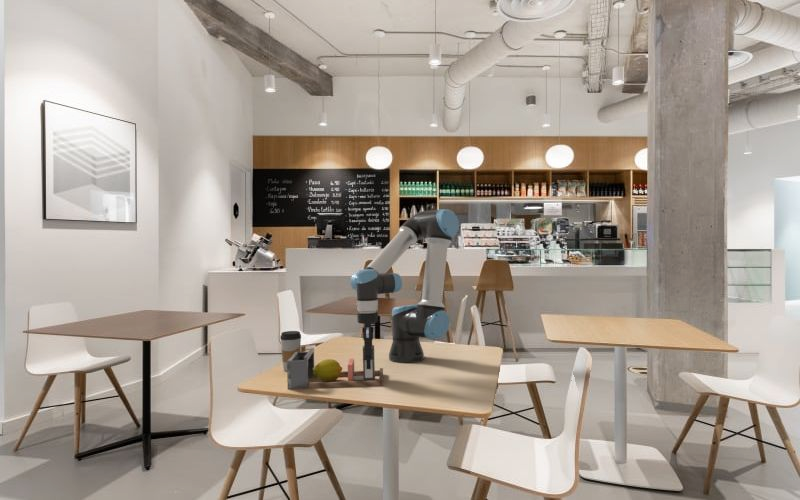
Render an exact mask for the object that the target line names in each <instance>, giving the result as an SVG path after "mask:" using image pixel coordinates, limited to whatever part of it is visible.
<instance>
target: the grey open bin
mask: <svg viewBox="0 0 800 500" xmlns="http://www.w3.org/2000/svg"><path fill="white" fill-rule="evenodd" d="M314 367H315V348H313V347H311V348H310V349H309V350H308V351H300V352H295V353H294V354H293V355H292V357H291V358H290V359H289V360H288V361H287V371H286V373H287V376H286V377H287V380H286V381H287V389H288V388H301V389H309V388H308V383H309V378H315V377H314V374H313V368H314Z"/></svg>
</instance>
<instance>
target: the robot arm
mask: <svg viewBox="0 0 800 500" xmlns="http://www.w3.org/2000/svg"><path fill="white" fill-rule="evenodd" d="M459 229H460V223H459V218H458V217H457V215H456V214H455V212H454V211H453V210H451V209H447V208H446V209H445V208H444V209H443V208H439V209H436V210H435V209H433V210H422V211H418V212H417V213H415V214H413V215H412V216H411V217H410V218H408V219H407V220H406V221H405V222H404V223H403V224H402V225H401V226H400V227H399V228H398V232H397V234H396V235H395V236H394V237H393V238H392V239H391V240H390V241H389V243H387V244H386V246H384V247H383V249H382V250H380V251H379V253H377V255H376V256H375V257H374V258H373V259H372V261H371V262H370V263H369V264H368V265H367V266H366V267H365V268H364V269H359V270H357V271H356V272H355V273H353V274H352V276H351V277H350V281H349V282H350V286H351V288H352V290H354V291H356V303H355V306H356V308H357V309H356V310H357V312H358V313H357V319H356V320H357V322H358V324H364V326H363V327H362V336H363V337H362V339H363V341H364V342H363V343H364V345H363V346H364V348H365V357H364V358H363V357H362V361H363V360H365V378H373V367H372V345H373V340H374V329H375V328H374V326H372V324H376V323H378V322H379V312H378V311H379V298H378V297H379V295H382V294H383V295H385V294H394V293H398V292H400V290H401V289H402V288H403V279H402V277H401V276H400V274H398V273H396V272H389V273H388V271H389V270H390V269H391V268H392V267H393V265H394V264H395V263H396V262H397V261H398V260H399V259H400V258H401V257H402V256H403V255H404V253H405V252H406V251H407V250H408V249H409V247H411V245H415V244H417V242H418V241H419V240H421V239H423V240H424V241H425V242H426V244H427V245H426V257H425V262H424V263H425V266H424V273H423V274H424V275H423V283H422V293H421V300H420V301H419V302H418V303H416V304H409V305H400V306H395V307H393V308H392V310H391V330H392V332H391V333H392V342H391V346H390V350H389V354H388V359H389V361H392V362H394V363H395V362H396V363H415V362H419V361H422V360H424V359H425V352H424V349H423V348H422V344H421V341H420V338H426V339H429V340H433V339H435V340H438V339H439V340H440V339H441V338H443V337H444V336H445V335H446V334H447V333H448V331H449V328H450V324H451V323H450V321H451V320H450V316H449V314H448V312H447V311H446V306H445V305H444V303H443V296H444V287H445V285H444V284H445V277H446V276H445V275H446V266H447V258H448V257H447V256H448V248H449V246H450V244H452V241H453V237H455V236H457V234H458V233H459Z"/></svg>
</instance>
